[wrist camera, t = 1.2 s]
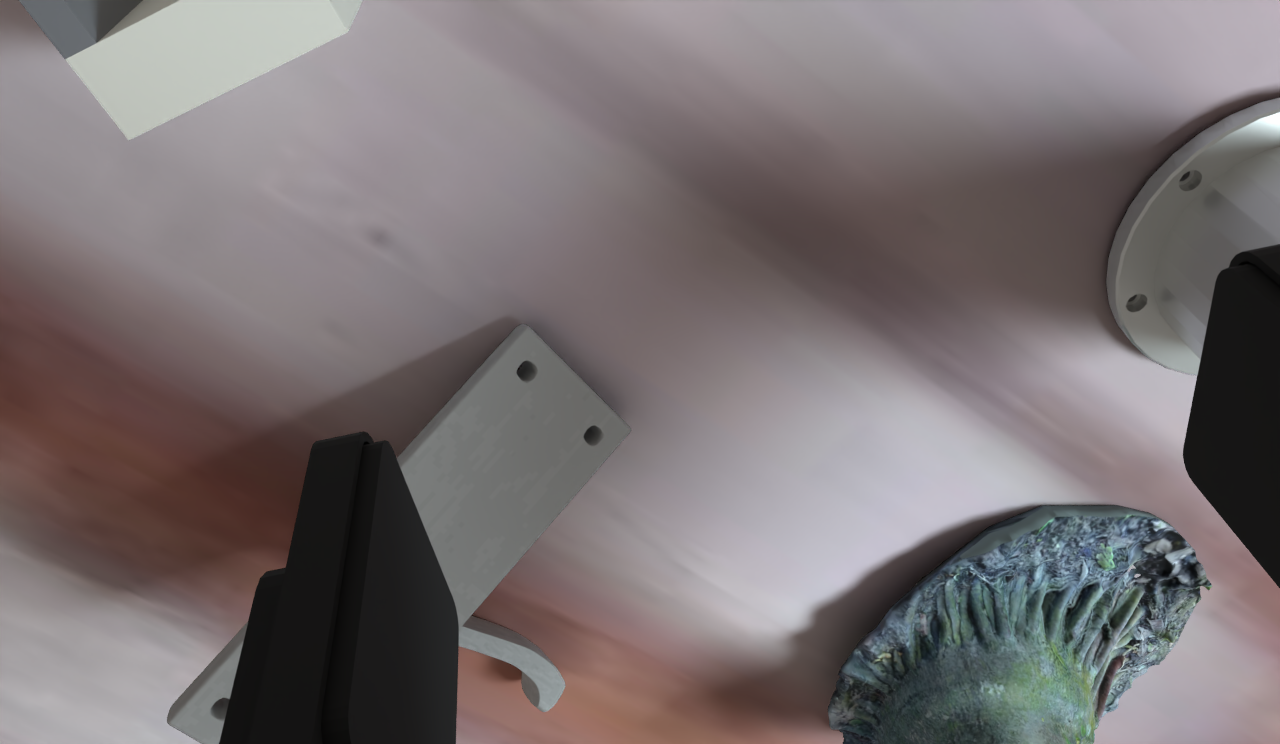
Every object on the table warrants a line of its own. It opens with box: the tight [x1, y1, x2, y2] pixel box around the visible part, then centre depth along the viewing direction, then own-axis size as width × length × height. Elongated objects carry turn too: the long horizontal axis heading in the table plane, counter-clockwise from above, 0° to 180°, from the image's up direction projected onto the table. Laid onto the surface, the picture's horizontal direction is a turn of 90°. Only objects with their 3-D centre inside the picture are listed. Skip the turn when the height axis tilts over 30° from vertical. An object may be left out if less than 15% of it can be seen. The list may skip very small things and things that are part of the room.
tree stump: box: [828, 505, 1212, 744], centre depth 52 cm, size 18×20×18 cm
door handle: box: [167, 324, 631, 744], centre depth 48 cm, size 18×8×20 cm
